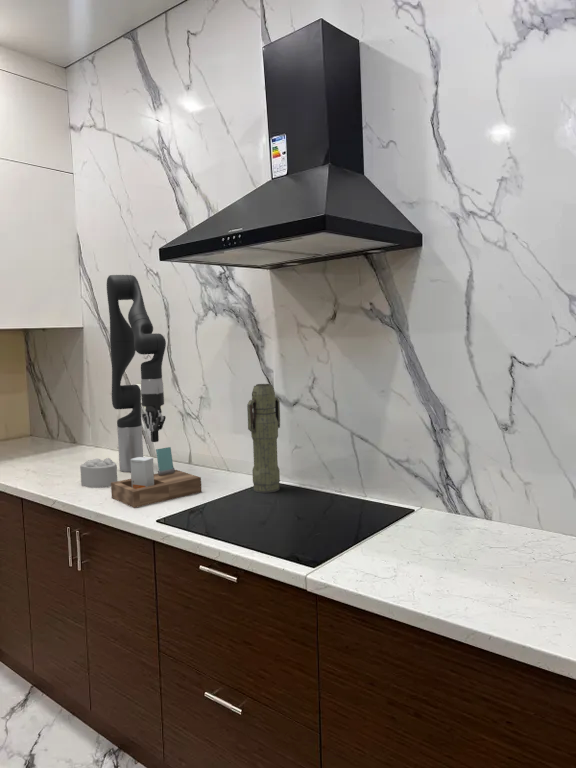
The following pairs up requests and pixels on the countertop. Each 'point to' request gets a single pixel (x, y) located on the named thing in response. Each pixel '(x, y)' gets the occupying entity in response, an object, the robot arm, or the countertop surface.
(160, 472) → the teal card holder
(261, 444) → the thermos
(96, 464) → the lumpy-topped squat cylinder
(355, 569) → the countertop surface
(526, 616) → the countertop surface
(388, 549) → the countertop surface
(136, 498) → the socket block
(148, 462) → the skincare box
